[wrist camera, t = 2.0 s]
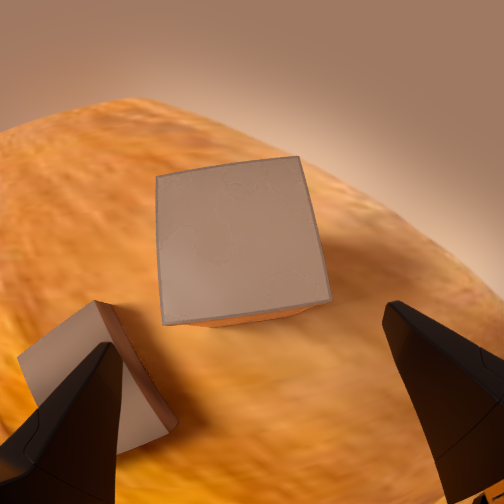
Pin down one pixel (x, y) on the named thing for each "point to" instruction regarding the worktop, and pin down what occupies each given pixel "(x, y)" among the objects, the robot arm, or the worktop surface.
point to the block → (76, 349)
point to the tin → (238, 244)
